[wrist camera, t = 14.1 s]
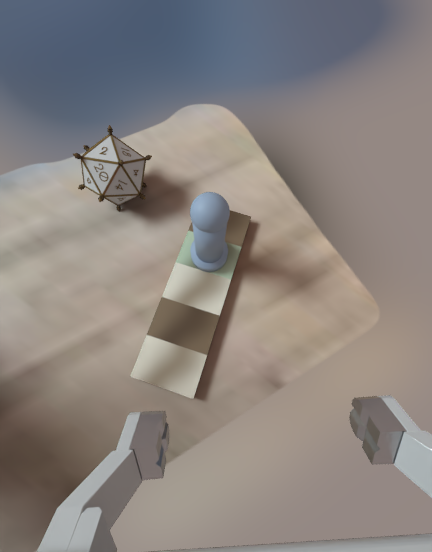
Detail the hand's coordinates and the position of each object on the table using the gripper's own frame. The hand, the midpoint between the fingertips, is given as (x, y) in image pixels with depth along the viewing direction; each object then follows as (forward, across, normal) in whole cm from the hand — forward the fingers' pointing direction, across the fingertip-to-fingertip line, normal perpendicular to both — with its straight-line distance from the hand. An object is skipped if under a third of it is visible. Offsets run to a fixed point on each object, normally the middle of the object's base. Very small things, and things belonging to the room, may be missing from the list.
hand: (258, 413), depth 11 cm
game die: (+29, -13, +8) cm, 33 cm away
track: (+20, -4, -3) cm, 20 cm away
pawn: (+22, -2, +1) cm, 22 cm away
